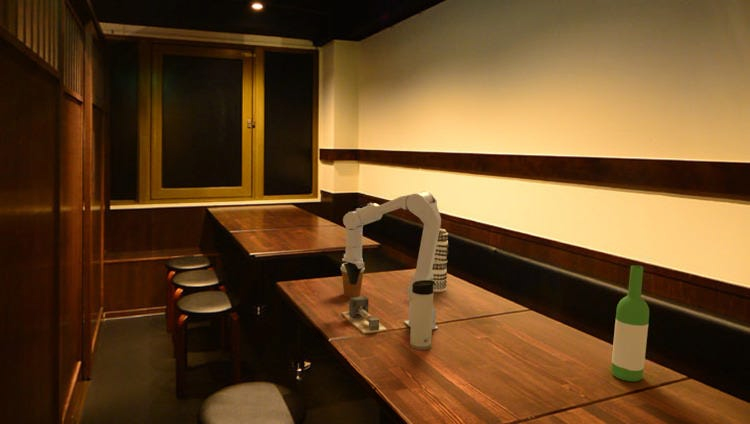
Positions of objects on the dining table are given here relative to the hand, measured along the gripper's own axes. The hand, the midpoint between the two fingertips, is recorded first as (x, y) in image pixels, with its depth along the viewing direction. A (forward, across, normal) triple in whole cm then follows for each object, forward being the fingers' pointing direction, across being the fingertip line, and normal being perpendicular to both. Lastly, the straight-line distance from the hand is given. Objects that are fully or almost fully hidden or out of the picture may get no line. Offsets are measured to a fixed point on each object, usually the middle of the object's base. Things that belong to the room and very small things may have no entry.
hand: (353, 284), depth 185 cm
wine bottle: (+11, +72, +50) cm, 89 cm away
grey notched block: (+10, +6, 0) cm, 12 cm away
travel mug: (+11, +35, +8) cm, 38 cm away
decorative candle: (+11, -17, +44) cm, 48 cm away
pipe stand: (+10, +10, 0) cm, 14 cm away
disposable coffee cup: (+11, -20, +8) cm, 24 cm away
